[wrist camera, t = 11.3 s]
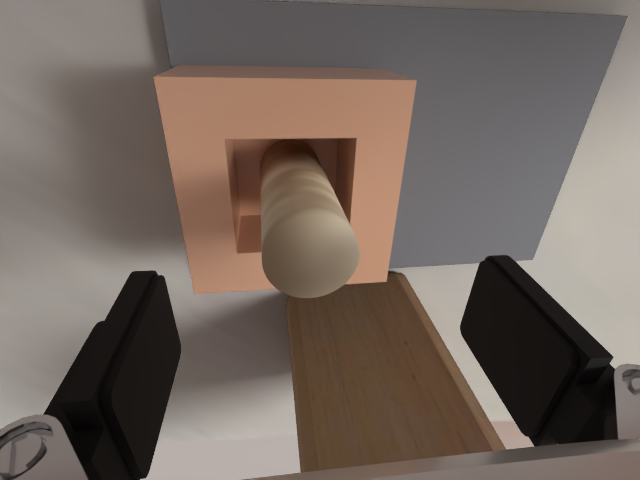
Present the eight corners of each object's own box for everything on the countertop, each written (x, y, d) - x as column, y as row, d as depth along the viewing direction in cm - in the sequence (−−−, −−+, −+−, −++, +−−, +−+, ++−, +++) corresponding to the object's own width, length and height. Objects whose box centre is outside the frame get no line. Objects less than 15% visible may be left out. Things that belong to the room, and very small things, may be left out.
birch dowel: (320, 139, 21) (363, 212, 12) (319, 196, 23) (356, 294, 14) (258, 139, 21) (258, 217, 12) (261, 198, 22) (264, 301, 14)
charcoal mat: (613, 16, 22) (627, 15, 21) (525, 253, 30) (532, 259, 29) (163, -3, 18) (159, -5, 17) (207, 271, 27) (205, 279, 26)
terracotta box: (381, 68, 20) (416, 80, 16) (363, 235, 26) (386, 281, 21) (180, 64, 19) (153, 76, 14) (207, 243, 25) (194, 294, 20)
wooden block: (406, 349, 34) (549, 665, 17) (303, 371, 34) (346, 717, 17) (404, 264, 29) (605, 597, 12) (282, 289, 29) (314, 670, 12)
